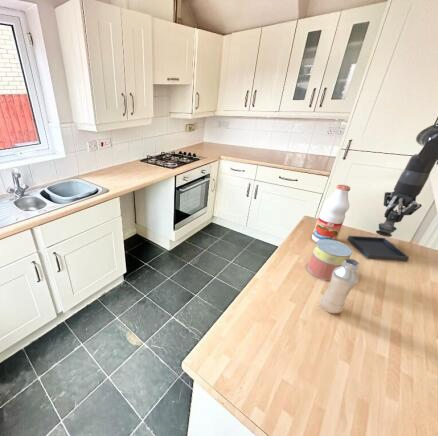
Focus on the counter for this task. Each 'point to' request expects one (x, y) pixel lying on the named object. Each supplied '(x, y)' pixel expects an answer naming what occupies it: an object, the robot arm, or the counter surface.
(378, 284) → the counter surface
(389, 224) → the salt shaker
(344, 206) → the fruit juice
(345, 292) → the plastic bottle
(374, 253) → the tray
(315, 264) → the canned food
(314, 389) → the counter surface
